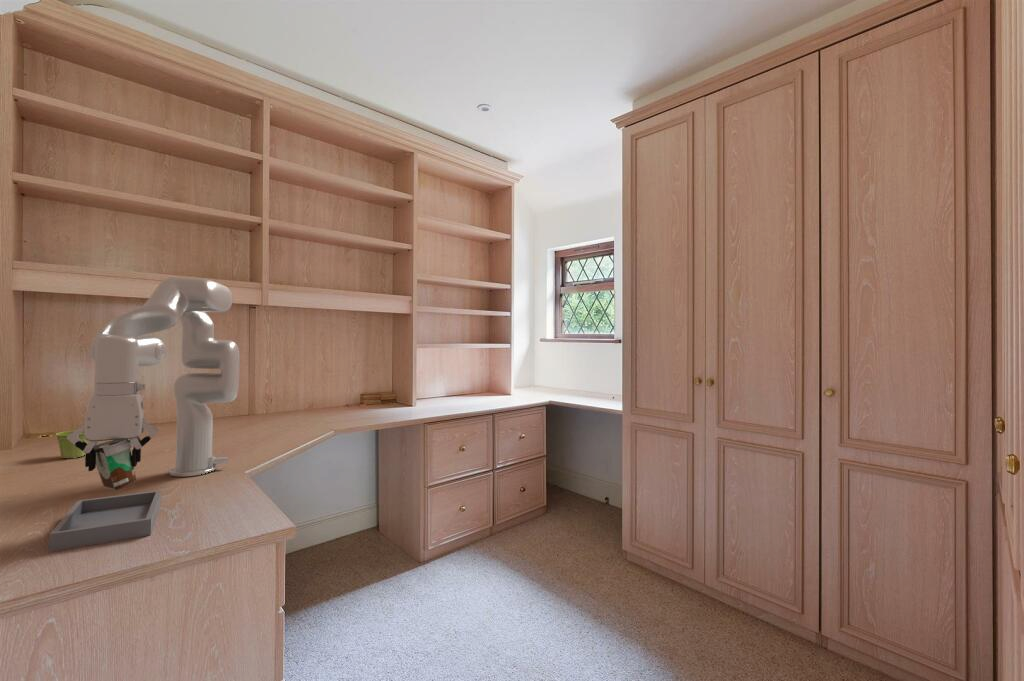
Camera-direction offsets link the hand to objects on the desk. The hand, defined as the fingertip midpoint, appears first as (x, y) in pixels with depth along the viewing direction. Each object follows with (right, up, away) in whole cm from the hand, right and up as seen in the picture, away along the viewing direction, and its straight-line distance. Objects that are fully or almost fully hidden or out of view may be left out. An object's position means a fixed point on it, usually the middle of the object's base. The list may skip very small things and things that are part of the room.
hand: (113, 466), depth 105 cm
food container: (+1, -4, +2) cm, 5 cm away
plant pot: (-62, -12, +55) cm, 84 cm away
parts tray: (0, -13, 0) cm, 13 cm away
